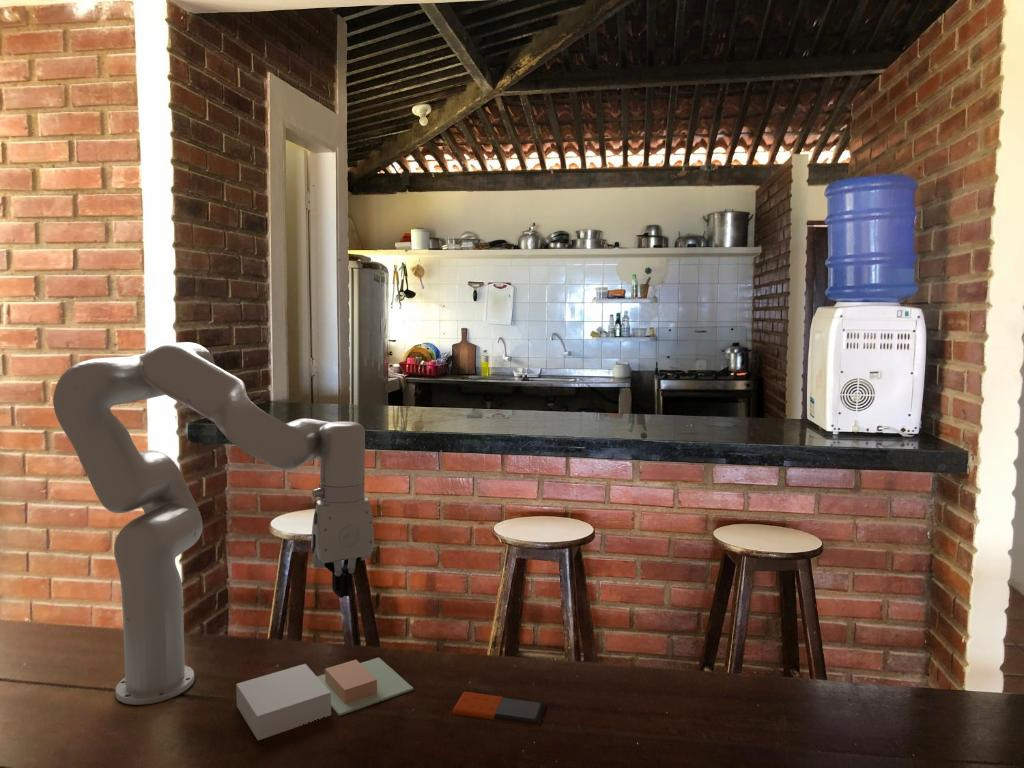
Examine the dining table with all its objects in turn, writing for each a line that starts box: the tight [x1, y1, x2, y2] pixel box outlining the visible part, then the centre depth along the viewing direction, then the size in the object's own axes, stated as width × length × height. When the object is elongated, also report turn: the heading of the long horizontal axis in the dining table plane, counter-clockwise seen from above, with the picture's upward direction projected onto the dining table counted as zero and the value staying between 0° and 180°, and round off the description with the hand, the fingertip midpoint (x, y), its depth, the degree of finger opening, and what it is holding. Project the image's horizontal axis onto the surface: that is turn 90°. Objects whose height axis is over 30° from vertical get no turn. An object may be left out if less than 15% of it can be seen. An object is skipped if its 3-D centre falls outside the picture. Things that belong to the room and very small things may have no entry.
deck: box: [235, 663, 332, 741], centre depth 115 cm, size 12×12×4 cm
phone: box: [452, 691, 546, 727], centre depth 116 cm, size 6×1×15 cm
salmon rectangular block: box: [324, 659, 377, 704], centre depth 122 cm, size 9×6×2 cm, turn 37°
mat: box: [316, 657, 414, 717], centre depth 123 cm, size 14×14×1 cm
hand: (341, 594), depth 120 cm, fingers closed
